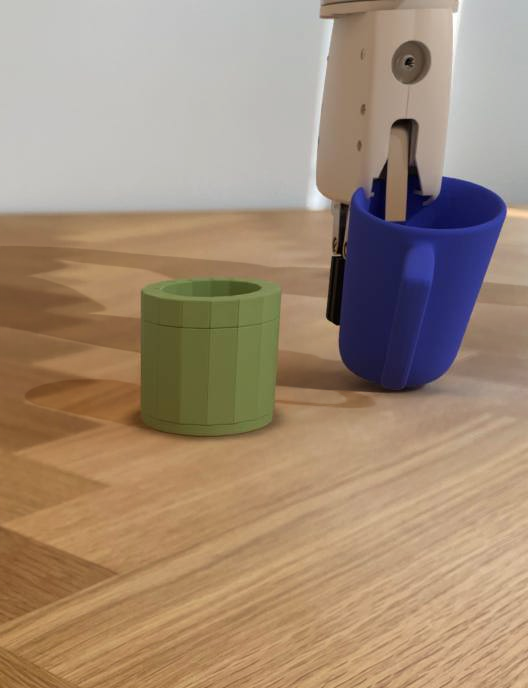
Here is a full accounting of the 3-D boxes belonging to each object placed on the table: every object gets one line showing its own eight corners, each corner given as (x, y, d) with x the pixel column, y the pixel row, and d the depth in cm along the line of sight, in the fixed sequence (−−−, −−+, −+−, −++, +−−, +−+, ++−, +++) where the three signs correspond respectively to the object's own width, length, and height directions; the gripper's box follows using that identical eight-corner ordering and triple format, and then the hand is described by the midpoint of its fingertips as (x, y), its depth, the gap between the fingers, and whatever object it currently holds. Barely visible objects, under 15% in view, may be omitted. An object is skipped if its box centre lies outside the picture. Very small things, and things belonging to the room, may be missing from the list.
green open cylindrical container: (255, 397, 62) (262, 274, 59) (287, 432, 56) (296, 296, 52) (133, 403, 62) (133, 280, 59) (151, 439, 55) (152, 303, 52)
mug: (308, 425, 60) (336, 252, 53) (331, 328, 68) (358, 168, 61) (459, 445, 58) (509, 269, 51) (464, 342, 66) (507, 179, 59)
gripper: (515, -31, 52) (457, 345, 60) (409, -4, 65) (373, 301, 74) (366, -28, 52) (328, 349, 60) (290, -2, 65) (268, 304, 73)
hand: (353, 322), depth 67 cm, fingers closed
